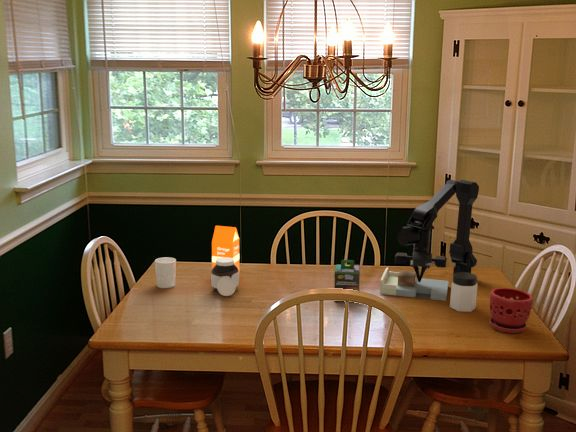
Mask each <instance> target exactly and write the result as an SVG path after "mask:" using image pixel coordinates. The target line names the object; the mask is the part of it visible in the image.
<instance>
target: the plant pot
mask: <svg viewBox="0 0 576 432" xmlns="http://www.w3.org/2000/svg"><path fill="white" fill-rule="evenodd" d="M533 302H534V296H533V295H532V294H530V293H529V292H527V291H524V290H521V289H517V288H511V287H497V288H493V289H492V290H491V292H490V296H489V310H490V311H489V312H490V315H491V317H490V318H489V324H490V326H491V327H492V328H494V329H495V330H497V331H499V332H504V333H507V334H516V333H517V334H518V333H522V332H524V331H525V330H526V329H527V324H526V322H527V321H528V319H529V317H530V315H531V311H532V308H533Z"/></svg>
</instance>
